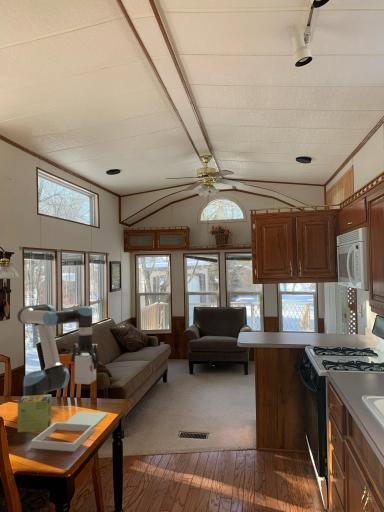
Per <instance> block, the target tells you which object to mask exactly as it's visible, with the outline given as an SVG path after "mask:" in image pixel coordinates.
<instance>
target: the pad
mask: <svg viewBox="0 0 384 512" xmlns="http://www.w3.org/2000/svg"><path fill="white" fill-rule="evenodd" d="M108 415H109V414H108V412H97V411H96V412H94V411H82V410H80V411H77V412H76V413H74V414H73V415H72V416H70V417H69V419H67V420H65V422H64V423H79V424H94V425H95V428H96V427H97V426H98V425H99V424H100V423H101V422H102V421H103V420H105V418H106V417H107V416H108Z"/></svg>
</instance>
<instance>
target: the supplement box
mask: <svg viewBox="0 0 384 512" xmlns="http://www.w3.org/2000/svg"><path fill="white" fill-rule="evenodd" d="M94 356H95V353H94ZM92 364H93V361H92V356H90V355H89V353H88V352H82V354H81V355H77V354H76V356H75V364H74V384H79V385H83V384H84V385H90V384H92V383H93V382H95V381H96V380H97V369H95V375H94V376H92Z"/></svg>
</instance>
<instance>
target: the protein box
mask: <svg viewBox="0 0 384 512" xmlns="http://www.w3.org/2000/svg"><path fill="white" fill-rule="evenodd" d="M52 411H53V409H52V394H45V395H35V396H24V395H23V396H22V397H21V399H20V400H19V401H18V402H17V433H26V432H29V433H30V432H38V431H41V430H42V431H45V430H46V429H47V428H48V427H50V426H51V425H52V422H53V420H52V418H53V417H52Z"/></svg>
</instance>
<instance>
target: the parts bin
mask: <svg viewBox="0 0 384 512" xmlns="http://www.w3.org/2000/svg"><path fill="white" fill-rule="evenodd" d="M95 428H96V427H95V425H94V424H79V423H65V422H61V421H55V422H54V423H53V424H52V423H51V425H50V427H48V428H47V429H46V430H42V432H41V433H40V434H38V435H37V436H35V437H34V438H32V440H30V444H31V445H30V448H31V449H35V450H36V449H37V450H38V449H39V450H50V451H60V452H61V451H62V452H73V453H74V452H76V450H78V449H79V447H80V446H82V444H83V443H84V442H86V440H88V438H90V437H91V436H92V435H93V434H94V432H95ZM56 431H72V432H82V434H81V435H80V436H79V437H77V439H76V440H75V441H74V442H66V441H52V440H45V439H47V438H48V437H49V436H51V433H52V434H53V433H54V432H56ZM46 437H47V438H46ZM42 440H43V441H42Z"/></svg>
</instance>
